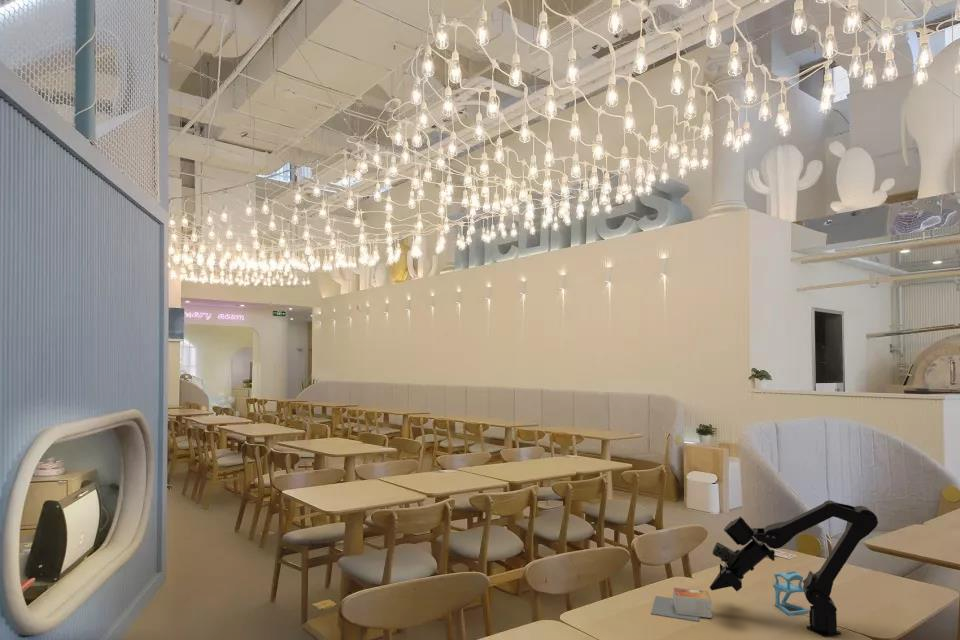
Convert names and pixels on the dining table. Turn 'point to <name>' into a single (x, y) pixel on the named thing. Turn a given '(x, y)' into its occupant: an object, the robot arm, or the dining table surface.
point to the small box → (692, 602)
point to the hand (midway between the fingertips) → (710, 588)
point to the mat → (669, 609)
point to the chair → (788, 592)
